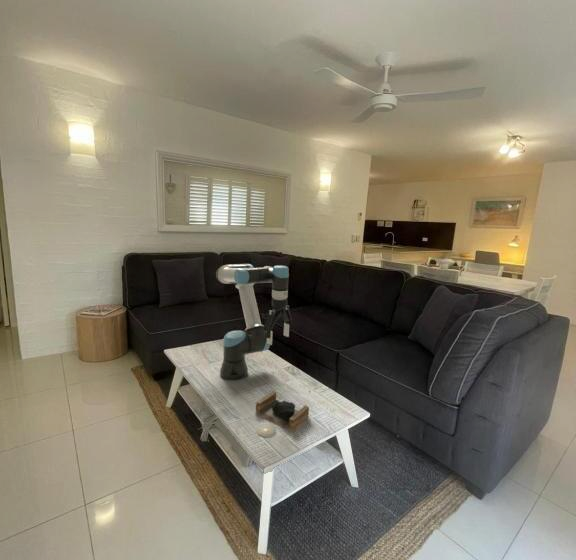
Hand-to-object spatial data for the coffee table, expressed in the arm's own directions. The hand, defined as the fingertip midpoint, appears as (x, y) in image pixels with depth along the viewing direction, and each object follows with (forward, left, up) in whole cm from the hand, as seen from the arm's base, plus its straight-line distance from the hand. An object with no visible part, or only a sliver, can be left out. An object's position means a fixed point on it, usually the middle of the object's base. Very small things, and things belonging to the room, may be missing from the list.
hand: (278, 339), depth 152 cm
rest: (+15, -15, -27) cm, 34 cm away
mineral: (+17, -15, -25) cm, 34 cm away
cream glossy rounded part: (+16, -27, -27) cm, 41 cm away
